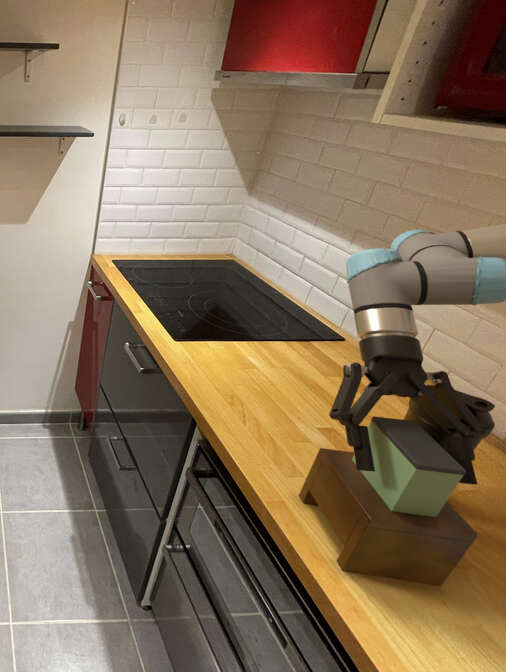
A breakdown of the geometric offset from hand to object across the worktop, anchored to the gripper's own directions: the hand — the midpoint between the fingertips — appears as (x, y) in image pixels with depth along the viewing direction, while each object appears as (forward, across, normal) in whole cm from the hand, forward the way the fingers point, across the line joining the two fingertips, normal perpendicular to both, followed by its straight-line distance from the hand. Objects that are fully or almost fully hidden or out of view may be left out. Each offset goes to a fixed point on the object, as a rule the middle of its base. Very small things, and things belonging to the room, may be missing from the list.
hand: (415, 477), depth 67 cm
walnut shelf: (+10, 0, -14) cm, 17 cm away
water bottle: (+2, -14, -22) cm, 26 cm away
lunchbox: (+2, 0, -5) cm, 5 cm away
